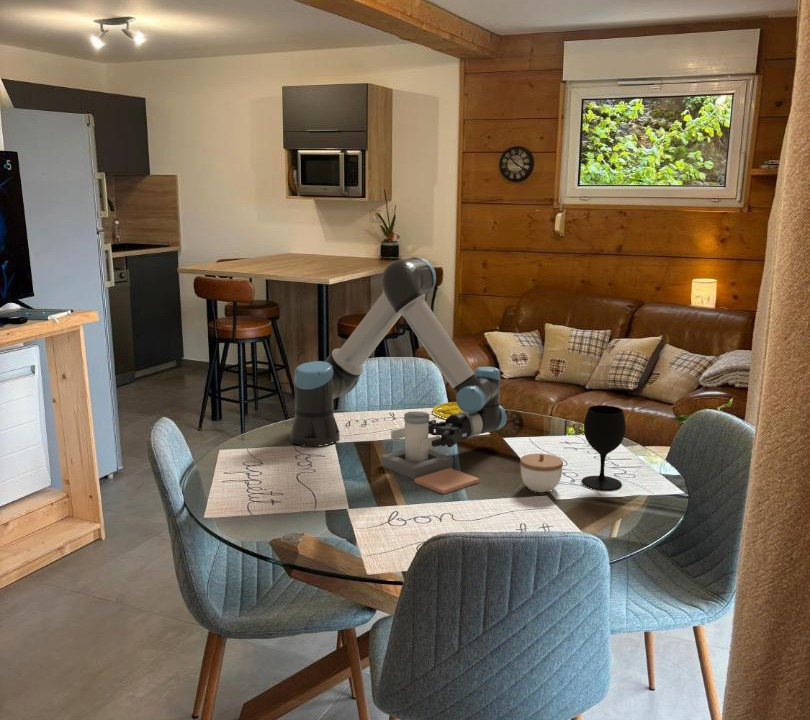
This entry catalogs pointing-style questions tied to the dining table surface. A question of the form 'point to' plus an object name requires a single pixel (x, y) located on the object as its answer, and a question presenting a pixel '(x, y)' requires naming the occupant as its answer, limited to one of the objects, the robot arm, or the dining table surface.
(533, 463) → the lidded jar
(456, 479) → the rubber mat
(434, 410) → the decorative medallion
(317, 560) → the dining table surface
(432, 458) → the frame
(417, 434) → the filter cartridge
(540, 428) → the dining table surface
